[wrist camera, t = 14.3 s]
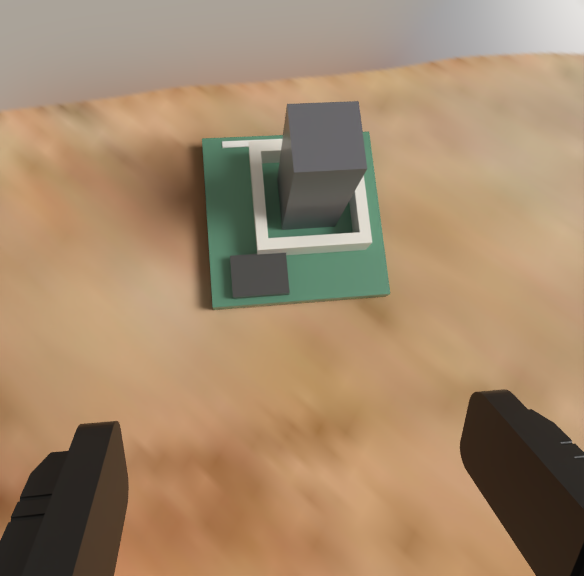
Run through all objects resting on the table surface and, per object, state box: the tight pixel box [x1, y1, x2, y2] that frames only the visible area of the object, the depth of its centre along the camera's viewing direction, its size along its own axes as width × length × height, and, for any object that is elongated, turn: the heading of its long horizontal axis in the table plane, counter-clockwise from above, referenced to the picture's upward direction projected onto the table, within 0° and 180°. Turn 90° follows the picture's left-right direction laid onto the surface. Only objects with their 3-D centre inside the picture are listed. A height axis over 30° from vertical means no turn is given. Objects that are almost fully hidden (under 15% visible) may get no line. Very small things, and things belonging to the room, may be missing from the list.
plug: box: [277, 101, 367, 230], centre depth 30 cm, size 4×5×10 cm
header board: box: [202, 132, 390, 310], centre depth 34 cm, size 13×13×3 cm
